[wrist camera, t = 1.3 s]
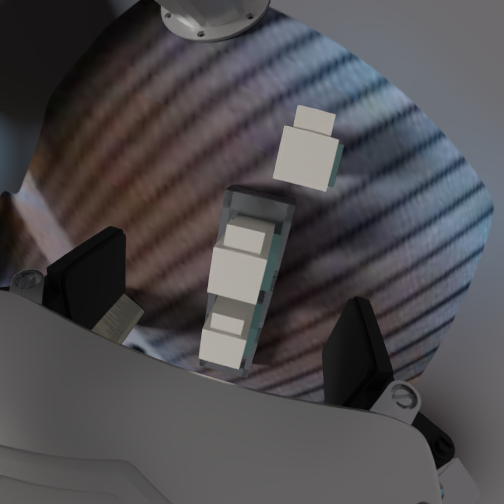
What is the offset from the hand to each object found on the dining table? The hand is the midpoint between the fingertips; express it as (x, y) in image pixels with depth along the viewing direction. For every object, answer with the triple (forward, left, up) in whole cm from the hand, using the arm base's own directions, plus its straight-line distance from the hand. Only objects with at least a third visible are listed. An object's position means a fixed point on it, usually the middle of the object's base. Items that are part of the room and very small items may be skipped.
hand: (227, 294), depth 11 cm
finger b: (+12, -1, -18) cm, 22 cm away
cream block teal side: (+4, -1, -18) cm, 19 cm away
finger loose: (-5, +2, -20) cm, 21 cm away
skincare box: (+21, -18, -21) cm, 34 cm away
